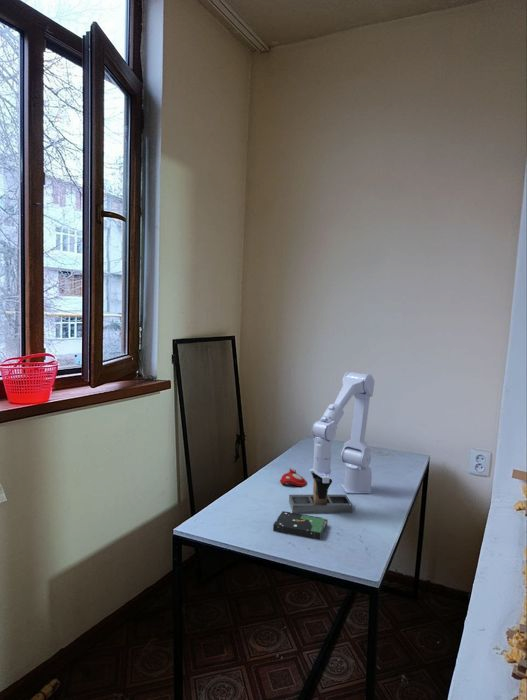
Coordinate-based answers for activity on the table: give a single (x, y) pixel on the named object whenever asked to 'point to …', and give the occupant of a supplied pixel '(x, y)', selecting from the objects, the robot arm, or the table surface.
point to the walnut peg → (315, 495)
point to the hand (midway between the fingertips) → (320, 495)
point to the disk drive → (300, 525)
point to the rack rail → (320, 504)
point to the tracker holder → (293, 478)
